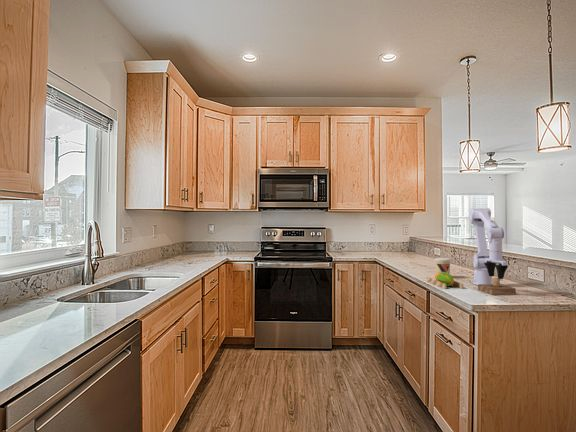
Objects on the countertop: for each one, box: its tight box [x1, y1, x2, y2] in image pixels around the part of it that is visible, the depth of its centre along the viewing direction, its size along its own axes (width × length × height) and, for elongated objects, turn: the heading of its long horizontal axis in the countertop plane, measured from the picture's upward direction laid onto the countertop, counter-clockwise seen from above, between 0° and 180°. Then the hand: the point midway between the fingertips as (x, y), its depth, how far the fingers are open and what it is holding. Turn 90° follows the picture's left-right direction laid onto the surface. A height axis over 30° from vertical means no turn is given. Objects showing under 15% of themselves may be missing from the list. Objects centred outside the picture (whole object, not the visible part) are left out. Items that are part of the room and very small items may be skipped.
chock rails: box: [426, 276, 464, 290], centre depth 196 cm, size 23×10×2 cm, turn 1°
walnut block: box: [477, 283, 517, 296], centre depth 175 cm, size 12×12×3 cm
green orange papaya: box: [434, 272, 455, 287], centre depth 196 cm, size 7×8×20 cm
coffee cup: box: [434, 257, 451, 275], centre depth 219 cm, size 9×9×12 cm
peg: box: [492, 277, 501, 287], centre depth 175 cm, size 3×3×7 cm
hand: (495, 277), depth 175 cm, fingers open, 7 cm apart
